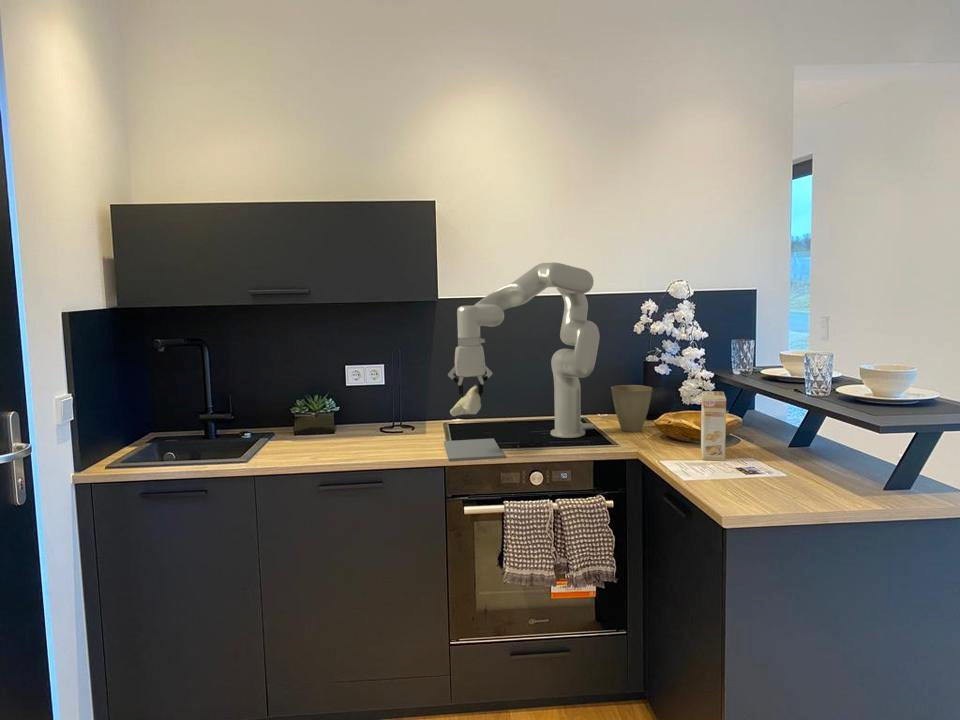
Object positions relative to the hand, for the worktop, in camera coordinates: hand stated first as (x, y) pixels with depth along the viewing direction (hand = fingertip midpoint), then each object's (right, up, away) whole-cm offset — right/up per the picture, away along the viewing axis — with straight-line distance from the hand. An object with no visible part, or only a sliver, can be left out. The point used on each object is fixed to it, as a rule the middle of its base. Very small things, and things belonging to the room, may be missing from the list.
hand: (470, 395), depth 233 cm
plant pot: (+60, -14, +26) cm, 67 cm away
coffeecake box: (+78, -19, -12) cm, 81 cm away
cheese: (-1, -6, +1) cm, 6 cm away
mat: (+1, -19, +2) cm, 19 cm away
